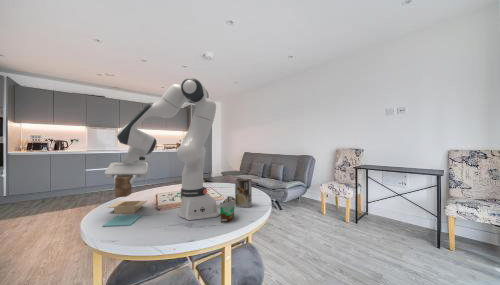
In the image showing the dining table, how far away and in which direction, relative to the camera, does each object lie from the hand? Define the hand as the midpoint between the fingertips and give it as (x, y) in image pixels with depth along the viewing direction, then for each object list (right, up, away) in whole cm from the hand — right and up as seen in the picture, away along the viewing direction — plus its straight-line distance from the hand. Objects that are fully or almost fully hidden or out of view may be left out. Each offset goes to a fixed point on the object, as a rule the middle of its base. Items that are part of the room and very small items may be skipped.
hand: (122, 183), depth 93 cm
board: (0, -18, +1) cm, 18 cm away
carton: (-7, -18, +16) cm, 25 cm away
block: (0, -6, +1) cm, 6 cm away
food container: (+52, -19, +3) cm, 55 cm away
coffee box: (+58, -19, +24) cm, 66 cm away
